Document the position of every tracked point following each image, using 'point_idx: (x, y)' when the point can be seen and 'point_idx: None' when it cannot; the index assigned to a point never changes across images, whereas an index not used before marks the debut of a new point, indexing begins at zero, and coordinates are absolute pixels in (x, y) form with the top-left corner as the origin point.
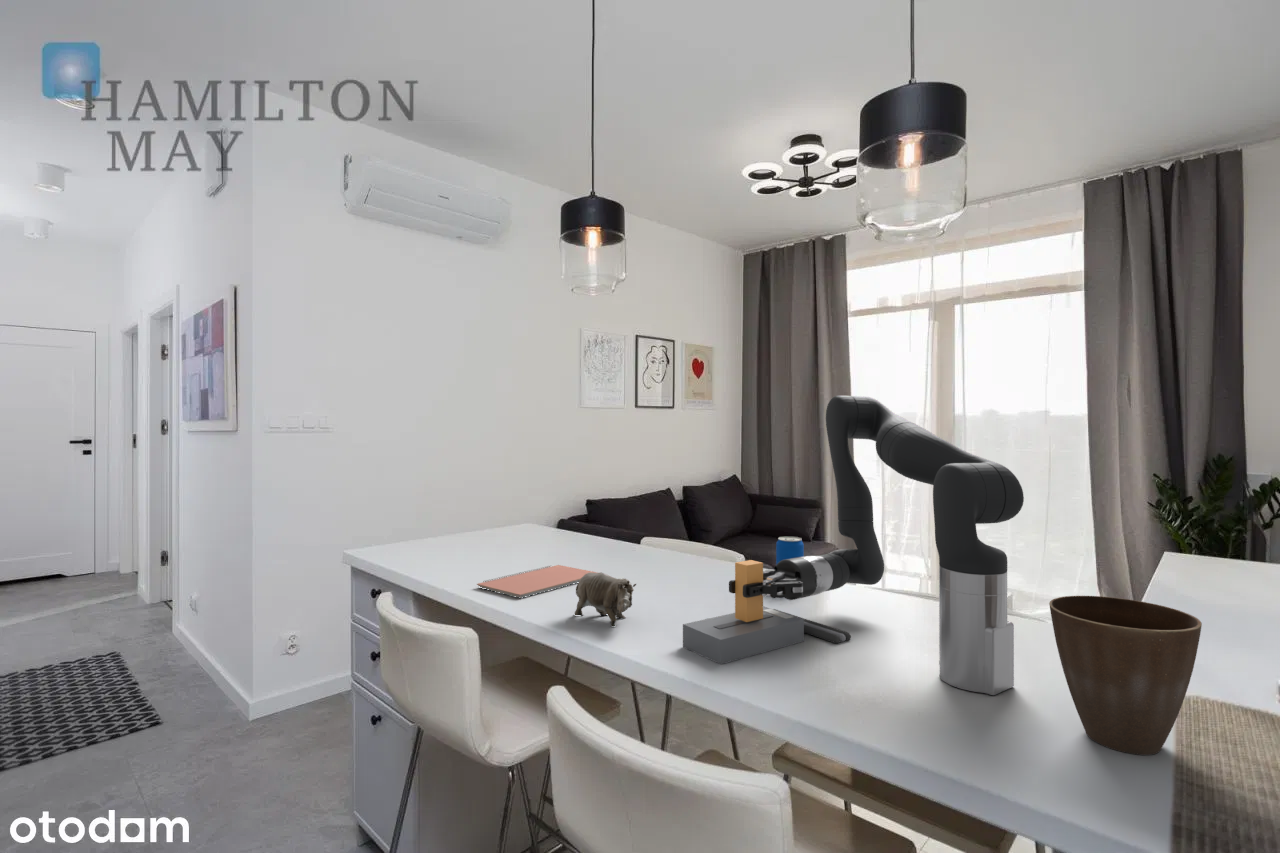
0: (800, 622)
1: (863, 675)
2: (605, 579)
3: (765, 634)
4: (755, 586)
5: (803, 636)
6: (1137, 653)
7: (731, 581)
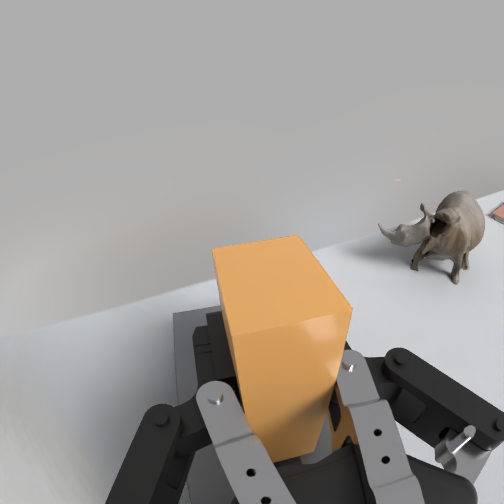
0: None
1: (7, 501)
2: (451, 201)
3: None
4: (206, 354)
5: None
6: None
7: None
